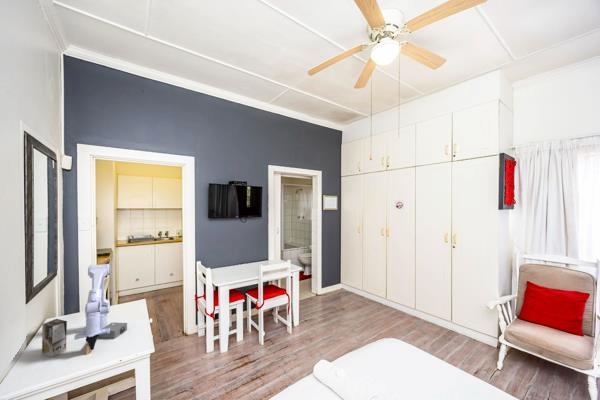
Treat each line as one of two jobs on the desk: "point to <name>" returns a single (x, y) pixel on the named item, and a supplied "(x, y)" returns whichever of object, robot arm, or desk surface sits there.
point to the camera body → (114, 330)
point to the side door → (88, 348)
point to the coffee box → (54, 337)
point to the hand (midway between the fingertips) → (92, 349)
